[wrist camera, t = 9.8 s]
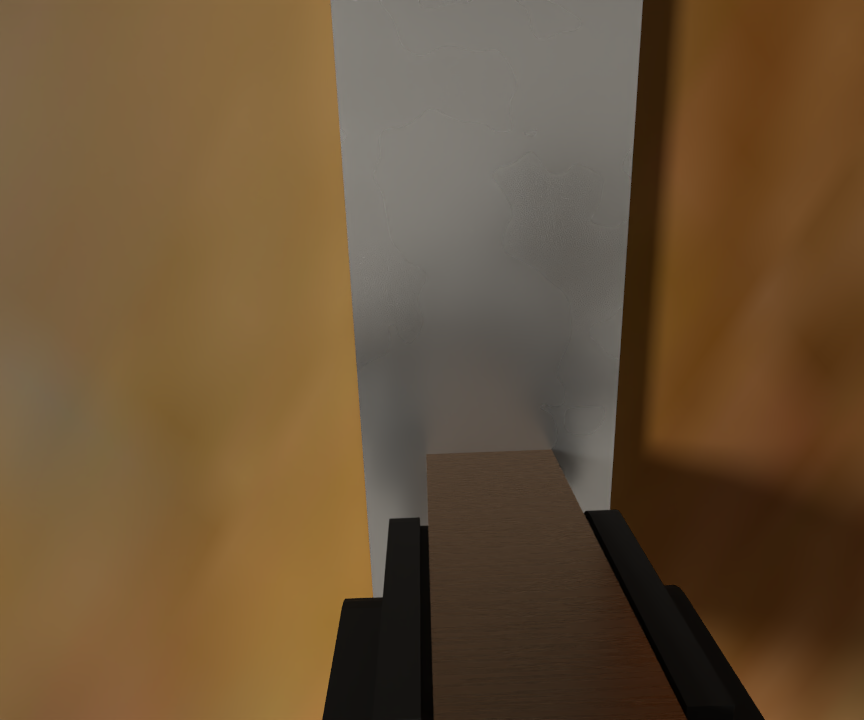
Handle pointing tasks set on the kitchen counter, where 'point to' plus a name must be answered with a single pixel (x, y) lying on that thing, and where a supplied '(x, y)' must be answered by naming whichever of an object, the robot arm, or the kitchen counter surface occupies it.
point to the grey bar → (497, 334)
